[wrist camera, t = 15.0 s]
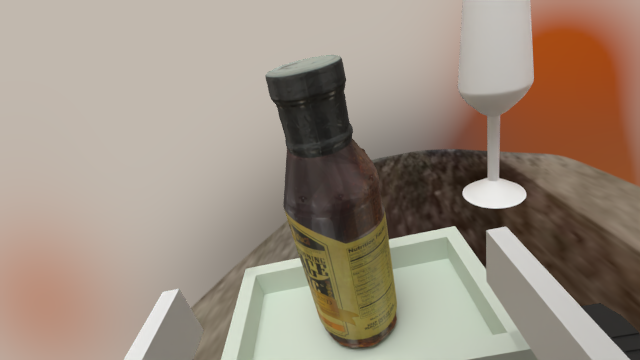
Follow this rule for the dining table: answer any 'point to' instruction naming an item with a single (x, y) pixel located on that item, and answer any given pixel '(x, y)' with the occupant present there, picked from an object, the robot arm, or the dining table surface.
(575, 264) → the dining table surface
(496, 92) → the champagne flute
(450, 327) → the tray
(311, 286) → the sauce bottle
